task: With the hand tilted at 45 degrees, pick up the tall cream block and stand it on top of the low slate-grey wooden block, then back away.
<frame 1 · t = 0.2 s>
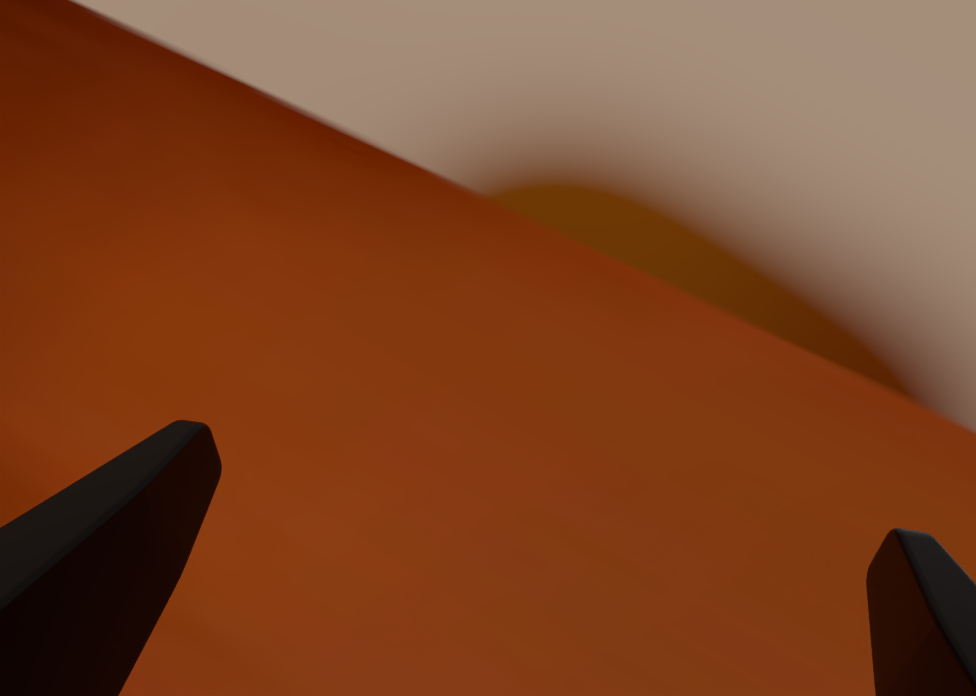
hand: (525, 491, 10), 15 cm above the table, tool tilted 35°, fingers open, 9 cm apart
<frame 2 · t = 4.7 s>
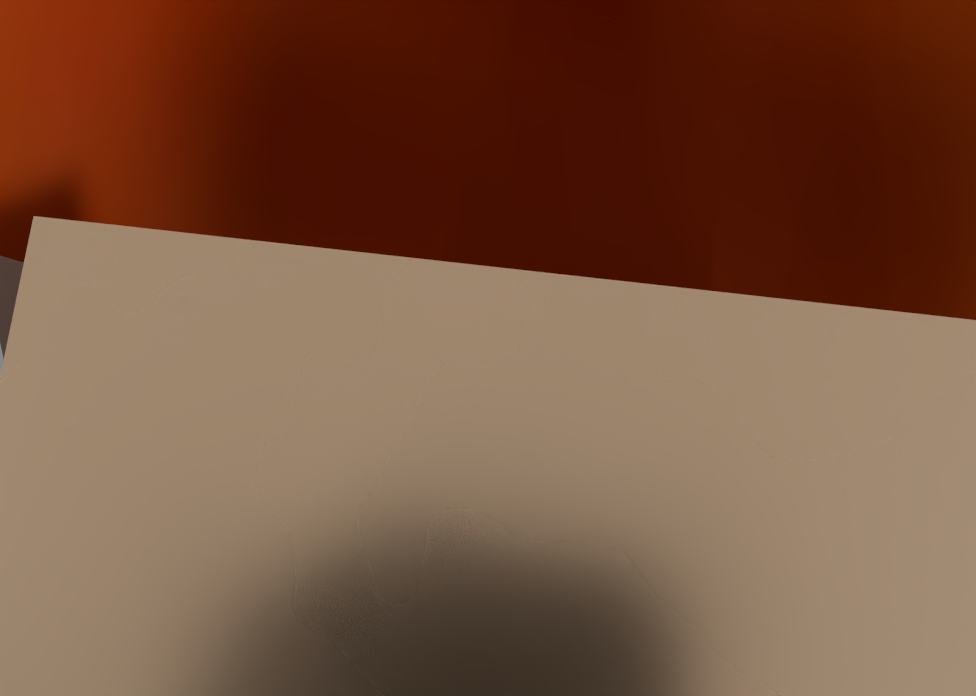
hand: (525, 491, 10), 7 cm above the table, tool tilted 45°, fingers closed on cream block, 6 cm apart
cream block: (540, 531, 16), on the table, touching gripper
when the fingers open (10 cm above the table, at t = 9.4 s): cream block drops 1 cm, point 2 cm above the table.
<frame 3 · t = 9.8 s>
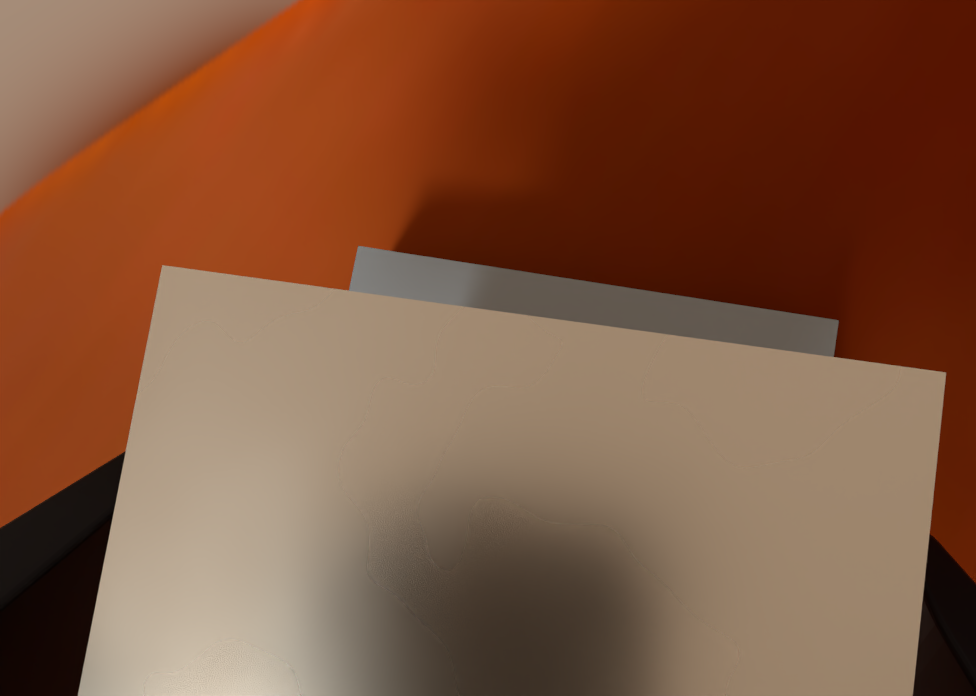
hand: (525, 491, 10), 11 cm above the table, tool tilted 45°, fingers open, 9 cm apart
grey block: (550, 509, 20), on the table
cream block: (544, 519, 17), point 2 cm above the table
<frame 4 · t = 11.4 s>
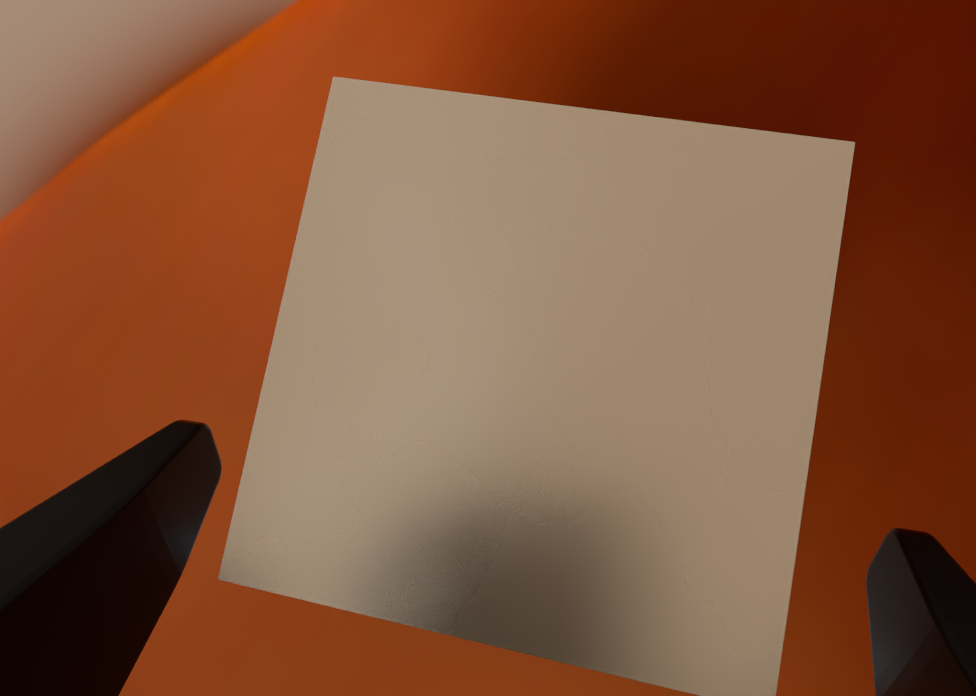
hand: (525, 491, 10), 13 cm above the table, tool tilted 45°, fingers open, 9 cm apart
cream block: (560, 412, 20), point 2 cm above the table, touching grey block
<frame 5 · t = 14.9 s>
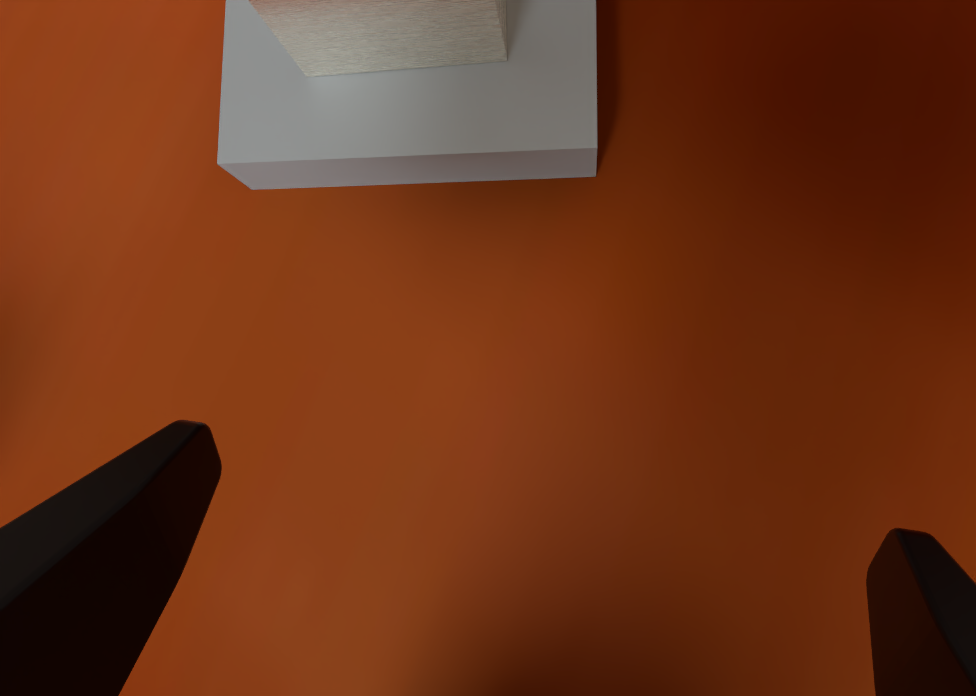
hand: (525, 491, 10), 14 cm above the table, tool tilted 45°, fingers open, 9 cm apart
grey block: (425, 26, 26), on the table, touching cream block
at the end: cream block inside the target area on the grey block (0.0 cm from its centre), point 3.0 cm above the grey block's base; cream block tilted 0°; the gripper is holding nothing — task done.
